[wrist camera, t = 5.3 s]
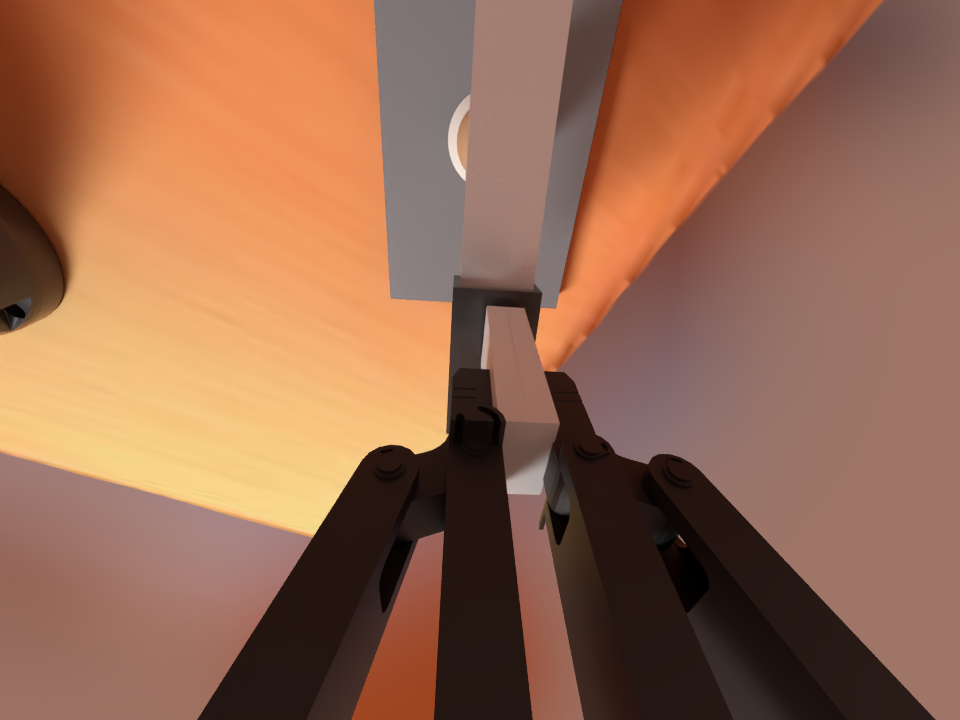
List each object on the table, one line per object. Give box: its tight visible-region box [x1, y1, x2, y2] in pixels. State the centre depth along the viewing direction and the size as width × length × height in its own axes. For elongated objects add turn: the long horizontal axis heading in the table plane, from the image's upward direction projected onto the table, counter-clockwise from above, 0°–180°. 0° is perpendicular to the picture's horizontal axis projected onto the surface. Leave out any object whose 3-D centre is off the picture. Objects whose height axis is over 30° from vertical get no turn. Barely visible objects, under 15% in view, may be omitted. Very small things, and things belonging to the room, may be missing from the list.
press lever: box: [446, 0, 573, 434], centre depth 14 cm, size 4×23×3 cm, turn 175°
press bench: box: [374, 0, 623, 309], centre depth 19 cm, size 14×26×14 cm, turn 175°
